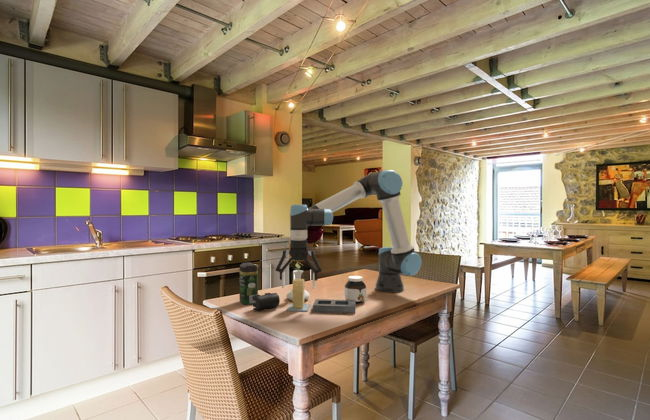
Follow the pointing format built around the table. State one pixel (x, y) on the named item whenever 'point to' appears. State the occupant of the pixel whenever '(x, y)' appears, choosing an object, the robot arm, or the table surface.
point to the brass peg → (298, 293)
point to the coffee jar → (248, 282)
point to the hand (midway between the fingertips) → (298, 287)
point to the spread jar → (355, 289)
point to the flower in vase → (297, 276)
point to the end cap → (266, 301)
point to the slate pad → (305, 309)
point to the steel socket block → (334, 306)
